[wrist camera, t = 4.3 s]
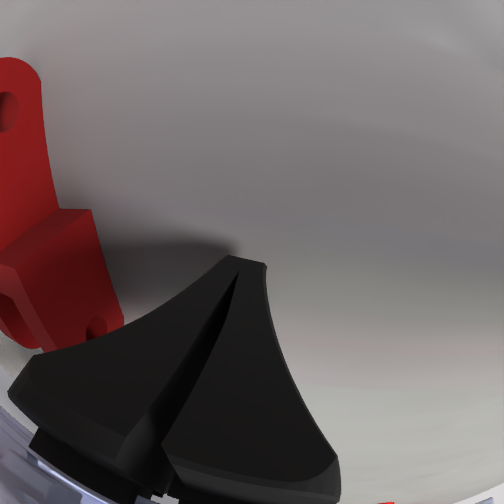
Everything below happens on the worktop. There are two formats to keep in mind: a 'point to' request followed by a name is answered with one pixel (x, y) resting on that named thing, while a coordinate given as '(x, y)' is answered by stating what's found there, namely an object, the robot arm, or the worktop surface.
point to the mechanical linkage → (44, 235)
